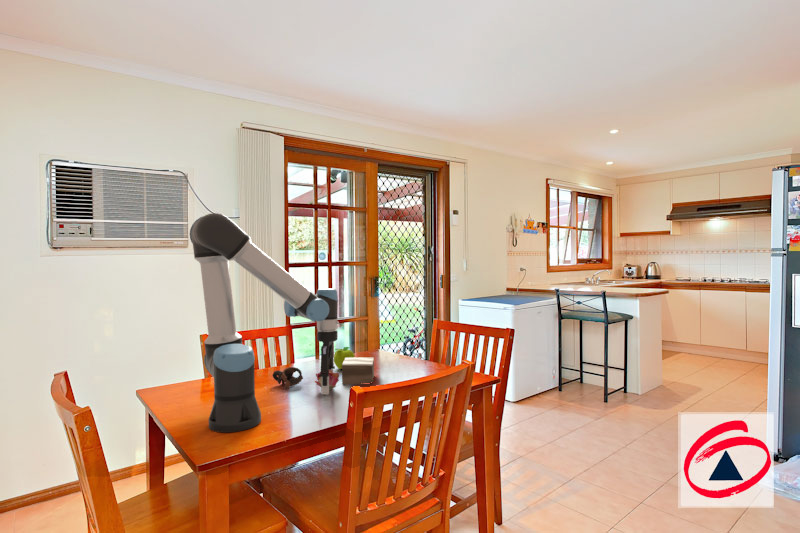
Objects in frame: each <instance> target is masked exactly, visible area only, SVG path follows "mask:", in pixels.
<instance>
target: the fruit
mask: <svg viewBox="0 0 800 533" xmlns="http://www.w3.org/2000/svg"><path fill="white" fill-rule="evenodd" d="M334 350H335V352H334V353H333V362H334V365H335V366H336V367H337V369H339V370H341V369H342V364H343V362H344V360H345V358H354V357H355V356H356V355H355V353H354V352H353V351H352V350H350V346H343V348H335V349H334Z"/></svg>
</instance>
